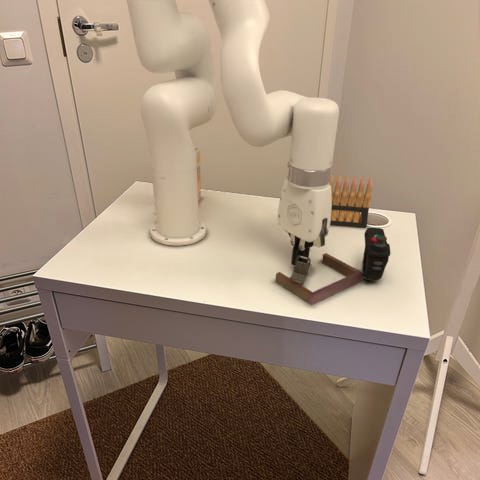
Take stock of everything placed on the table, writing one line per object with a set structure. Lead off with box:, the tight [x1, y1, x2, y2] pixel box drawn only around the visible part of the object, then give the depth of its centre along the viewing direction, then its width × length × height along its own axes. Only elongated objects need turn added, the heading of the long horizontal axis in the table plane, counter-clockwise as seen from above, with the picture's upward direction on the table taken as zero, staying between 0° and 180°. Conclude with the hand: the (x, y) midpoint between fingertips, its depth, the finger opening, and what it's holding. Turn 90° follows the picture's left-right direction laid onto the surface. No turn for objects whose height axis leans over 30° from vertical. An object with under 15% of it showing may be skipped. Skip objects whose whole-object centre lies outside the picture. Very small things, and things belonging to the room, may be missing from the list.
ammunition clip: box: [329, 174, 373, 229], centre depth 110 cm, size 11×2×12 cm, turn 81°
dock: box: [275, 252, 364, 306], centre depth 92 cm, size 10×14×2 cm
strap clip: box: [289, 256, 313, 287], centre depth 92 cm, size 8×3×4 cm, turn 160°
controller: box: [361, 227, 391, 282], centre depth 92 cm, size 4×12×10 cm, turn 171°
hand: (299, 263), depth 95 cm, fingers closed
